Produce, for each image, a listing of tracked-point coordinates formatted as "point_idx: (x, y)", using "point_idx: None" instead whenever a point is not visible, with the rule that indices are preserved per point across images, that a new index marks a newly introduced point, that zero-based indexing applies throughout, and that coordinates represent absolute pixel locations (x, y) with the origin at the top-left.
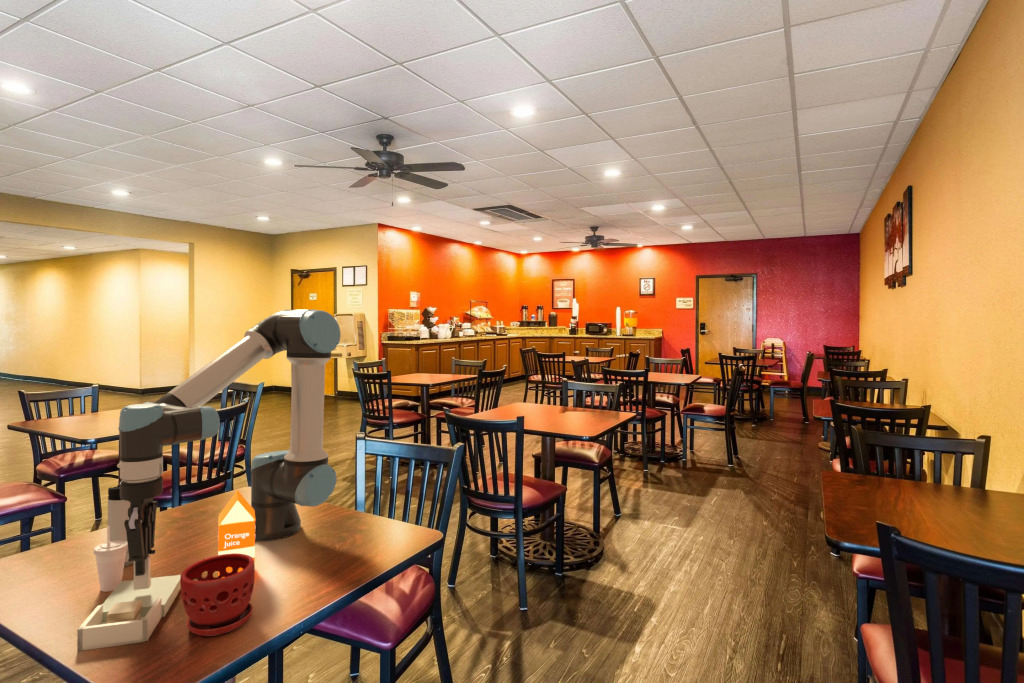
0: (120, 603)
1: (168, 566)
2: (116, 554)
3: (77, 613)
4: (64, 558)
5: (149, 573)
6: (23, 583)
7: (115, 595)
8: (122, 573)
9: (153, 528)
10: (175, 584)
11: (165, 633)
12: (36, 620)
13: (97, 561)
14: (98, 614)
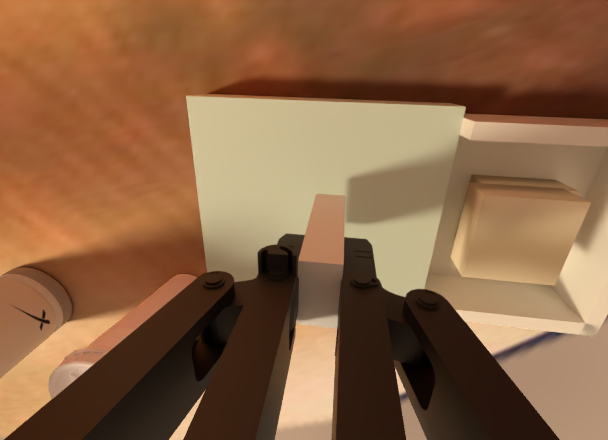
0: (477, 262)
1: (56, 176)
2: None
3: (321, 330)
4: (29, 398)
5: (328, 217)
6: None
7: None
8: (164, 293)
9: (130, 386)
10: (278, 105)
11: (601, 66)
12: (327, 388)
13: None
14: (461, 300)
